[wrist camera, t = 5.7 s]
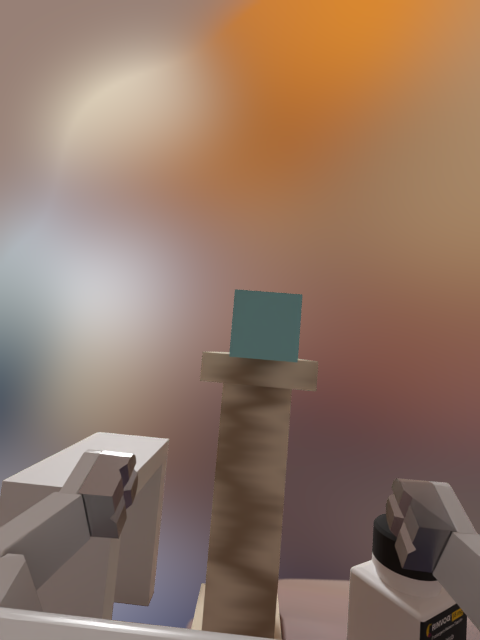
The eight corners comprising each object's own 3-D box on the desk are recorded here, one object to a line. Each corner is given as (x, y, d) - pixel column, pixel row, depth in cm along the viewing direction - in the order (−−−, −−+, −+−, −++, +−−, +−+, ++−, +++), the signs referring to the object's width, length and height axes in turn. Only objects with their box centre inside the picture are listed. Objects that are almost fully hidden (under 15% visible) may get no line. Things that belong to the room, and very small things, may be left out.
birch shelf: (276, 607, 37) (293, 358, 39) (290, 780, 22) (318, 361, 24) (200, 598, 37) (222, 352, 40) (164, 762, 22) (202, 351, 25)
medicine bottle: (418, 719, 27) (424, 551, 28) (344, 647, 33) (351, 512, 34) (466, 679, 30) (470, 533, 31) (392, 622, 36) (397, 500, 37)
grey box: (153, 592, 38) (169, 438, 39) (87, 751, 23) (116, 492, 24) (80, 584, 38) (98, 431, 39) (-33, 734, 23) (2, 480, 24)
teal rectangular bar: (271, 356, 39) (273, 329, 40) (297, 362, 15) (302, 294, 16) (244, 353, 39) (246, 327, 40) (229, 356, 16) (235, 289, 16)
